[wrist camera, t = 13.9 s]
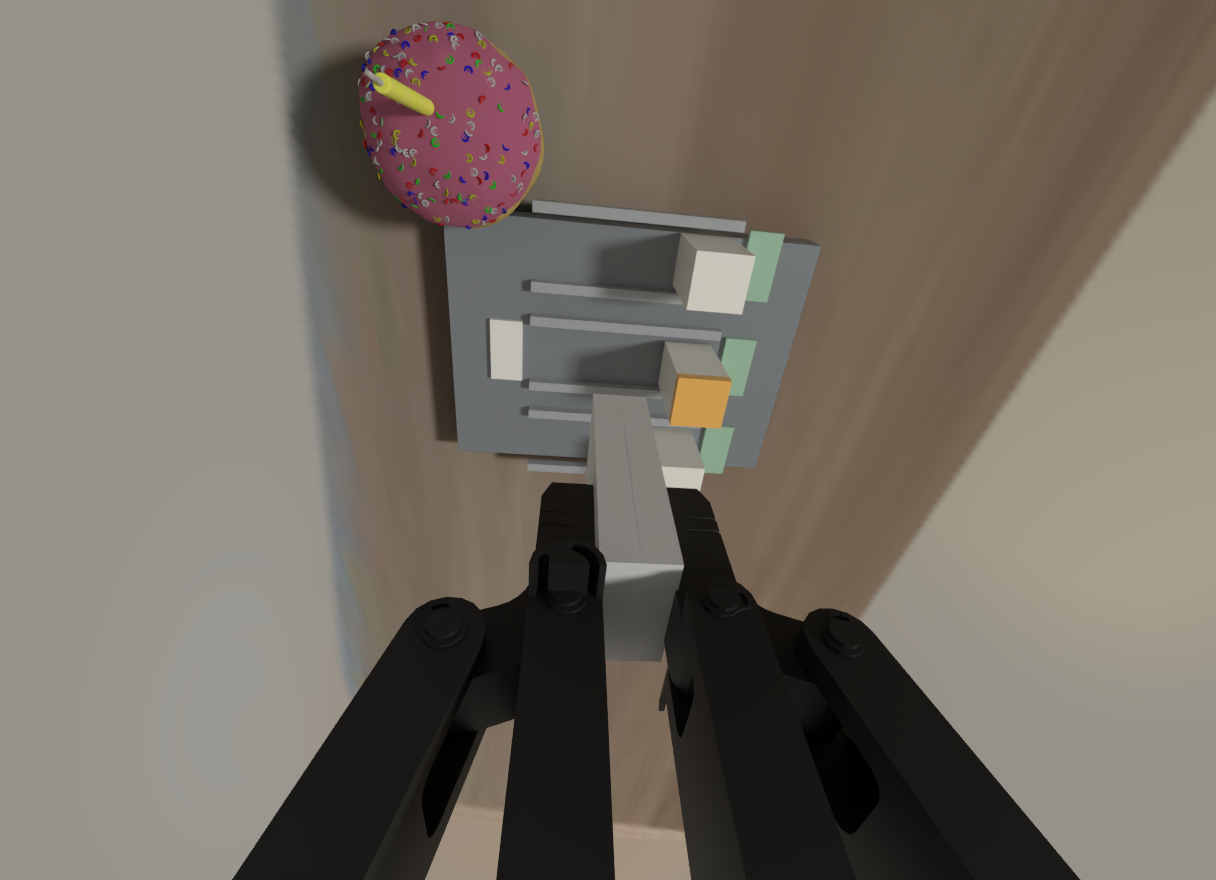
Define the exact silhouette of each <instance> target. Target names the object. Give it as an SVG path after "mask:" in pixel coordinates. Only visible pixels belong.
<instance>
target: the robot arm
mask: <svg viewBox="0 0 1216 880" xmlns="http://www.w3.org/2000/svg"><path fill="white" fill-rule="evenodd" d="M664 646H665V651H666V657H667V664H668V668H667V672H666V676H665V680H664V684H663V688H662V691H661V695H660V699H659V711H664V709H665V706H666V703H667V710H668V717H669V724H670V731H671V738H672V746H673V753H674V760H675V767H676V774H677V781H678V788H679V795H680V802H681V809H682V817H683V824H684V831H685V838H686V845H687V852H688V859H689V866H690V873H691V880H1080V879H1079V878H1078V877H1077V875H1076V874H1075V873H1074V872H1073V871H1072V869H1071V868H1070V867H1069V866H1068V865H1067V863H1066V862H1065V861H1064V860H1063V859H1062V857H1061V856H1060V855H1059V854H1058V853H1057V851H1056V850H1055V849H1054V848H1053V847H1052V845H1051V844H1050V843H1049V842H1048V841H1047V839H1046V838H1045V837H1044V836H1043V835H1042V833H1041V832H1040V831H1039V830H1038V829H1037V827H1036V826H1035V825H1034V824H1033V823H1032V822H1031V820H1030V819H1029V818H1028V817H1027V816H1026V814H1025V813H1024V812H1023V811H1022V810H1021V808H1020V807H1019V806H1018V805H1017V804H1016V802H1015V801H1014V800H1013V799H1012V798H1011V796H1010V795H1009V794H1008V793H1007V792H1006V790H1004V788H1003V787H1002V786H1001V784H1000V783H999V782H998V781H997V780H996V778H995V777H994V776H993V775H992V774H991V773H990V771H989V770H988V769H987V768H986V767H985V765H984V764H983V763H982V762H981V761H980V759H979V758H978V757H977V756H976V755H975V753H974V752H973V751H972V750H971V749H970V747H969V746H968V745H967V744H966V743H965V742H964V740H963V739H962V738H961V737H960V735H959V734H958V733H957V732H956V731H955V730H954V729H953V727H952V726H951V725H950V724H949V722H948V721H947V720H946V719H945V718H944V716H943V715H942V714H941V713H940V712H939V710H938V709H937V708H936V707H935V706H934V704H933V703H932V702H931V701H930V700H929V698H928V697H927V696H926V695H925V694H924V693H923V691H922V690H921V689H920V688H919V686H918V685H917V684H916V683H915V682H914V681H913V679H912V678H911V677H910V676H909V675H908V673H907V672H906V671H905V670H904V669H903V667H902V666H901V665H900V664H899V663H898V661H897V660H896V659H895V658H894V657H893V655H892V654H891V653H890V652H889V651H888V650H887V648H886V647H885V646H884V645H883V644H882V642H881V641H880V640H879V639H878V637H877V636H876V635H875V634H874V633H873V632H872V631H871V630H870V629H869V628H868V627H867V626H866V625H865V624H864V623H863V622H862V621H860V620H858V619H857V618H855V617H853V616H851V615H850V614H848V613H846V612H842V611H839V610H836V609H817V610H815V611H813V612H810V613H809V614H808V616H807V617H806V619H805V620H804V622H803V621H799V620H796V619H793V618H789V617H786V616H783V615H780V614H776V613H774V612H771V611H769V610H766V609H764V608H762V607H760V606H759V605H757V603H756V601H755V599H754V598H753V596H752V594H751V593H750V592H749V591H748V590H747V589H746V588H744V587H743V586H742V585H741V584H739V583H737V581H736V579H735V576H734V573H733V570H732V567H731V564H730V561H729V558H728V555H727V552H726V549H725V546H724V543H723V540H722V537H721V534H719V528H718V525H717V522H716V521H715V516H714V513H713V510H712V507H711V504H710V502H709V501H708V500H707V499H706V498H705V497H704V496H703V495H702V494H701V493H700V491H699V490H698V489H690V488H672V487H666V484H665V480H664V475H663V471H662V467H661V462H660V458H659V453H658V449H657V445H656V440H655V436H654V432H653V427H652V423H651V418H650V414H649V410H648V405H647V401H646V397H635V396H621V395H606V394H593V405H592V415H591V426H590V437H589V448H588V459H587V470H586V484H572V483H554V482H552V483H551V484H550V486H549V487H548V488H547V489H546V491H545V492H544V493H543V494H542V498H541V507H540V515H539V525H538V533H537V542H536V550H535V551H534V552H533V554H532V557H531V559H530V562H529V585H528V587H527V588H526V590H525V591H523V592H522V593H521V594H520V595H519V596H518V597H516V598H515V599H513V600H511V601H509V602H507V603H504V604H501V605H498V606H494V607H490V608H486V609H482V610H479V609H478V607H477V606H476V605H475V604H474V603H472V602H469V601H467V600H465V599H463V598H454V597H444V598H440V599H435V600H431V601H429V602H427V603H425V604H424V605H422V606H420V607H418V608H416V609H415V611H414V612H413V613H412V614H411V615H410V616H409V617H408V618H407V619H406V620H405V622H404V623H403V625H402V626H401V628H400V629H399V631H398V632H397V634H396V635H395V637H394V638H393V640H392V641H391V643H390V644H389V646H388V647H387V649H386V650H385V652H384V653H383V655H382V656H381V658H380V659H379V661H378V662H377V664H376V665H375V667H374V668H373V670H372V671H371V673H370V674H369V676H368V677H367V679H366V680H365V682H364V683H363V685H362V686H361V688H360V689H359V691H358V692H357V694H356V695H355V697H354V698H353V700H352V701H351V703H350V704H349V706H348V707H347V709H346V710H345V712H344V713H343V714H342V716H341V717H340V719H339V721H338V722H337V724H336V725H335V726H334V728H333V729H332V731H331V732H330V734H329V736H328V737H327V739H326V740H325V742H324V743H323V744H322V746H321V748H320V749H319V750H318V752H317V753H316V755H315V756H314V758H313V759H312V761H311V763H310V764H309V765H308V767H307V769H306V770H305V771H304V773H303V775H302V776H301V777H300V779H299V780H298V782H297V784H296V785H295V786H294V788H293V790H292V791H291V793H290V794H289V796H288V797H287V798H286V800H285V801H284V803H283V804H282V806H281V807H280V809H279V810H278V812H277V813H276V815H275V816H274V818H273V819H272V821H271V822H270V824H269V825H268V827H267V828H266V830H265V831H264V833H263V834H262V836H261V837H260V839H259V840H258V842H257V843H256V845H255V846H254V848H253V849H252V851H251V852H250V854H249V855H248V857H247V858H246V860H245V861H244V863H243V864H242V866H241V867H240V869H239V870H238V872H237V873H236V875H235V876H234V878H233V879H232V880H425V878H426V876H427V873H428V871H429V868H430V866H431V863H432V861H433V858H434V856H435V853H436V851H437V848H438V846H439V843H440V841H441V839H442V836H443V834H444V831H445V829H446V826H447V824H448V821H449V819H450V817H451V814H452V812H453V809H454V807H455V804H456V802H457V799H458V797H459V794H460V792H461V790H462V787H463V785H464V782H465V780H466V777H467V775H468V772H469V770H470V767H471V765H472V762H473V760H474V758H475V755H476V753H477V750H478V748H479V745H480V743H481V740H482V738H483V735H484V733H485V731H486V728H488V727H491V726H494V725H497V724H500V723H503V722H506V721H509V720H512V719H514V728H513V737H512V746H511V754H510V763H509V772H508V781H507V790H506V799H505V807H504V816H503V825H502V834H501V843H500V852H499V860H498V869H497V878H496V880H615V870H614V847H613V824H612V801H611V778H610V755H609V732H608V710H607V687H606V664H605V660H617V661H657V662H661V659H662V655H663V651H664Z"/></svg>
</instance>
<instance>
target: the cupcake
mask: <svg viewBox="0 0 1216 880" xmlns="http://www.w3.org/2000/svg"><path fill="white" fill-rule="evenodd" d="M393 31H394V32H393ZM367 54H368V56H369V57H368V56H367ZM369 54H370V55H369ZM365 59H367V61H366V64H365V63H364V64H363V65H362V71H363V72H362V75H361V78H360V79H359V80H358V86H359V100H360V111H361V120H360V125H361V127H362V128H363V132H364V138H365V140H364V142H363V145H364V148H366V149H367V152H368V154H369V156H370V157H371V159H372V163H373V164H374V165H375V167H376V169H377V171H378V178H379V180H381V179H382V180H383V182H384V184H385V186H386V187H387V189H388V190H389V191H390V192H391V193H392V194H393V195H394V196H395V198H396V200H397V201H399V202H401V205H402V206H403V207H404V208H409V209H411V210H412V211H414V212H415V213H417V214H418V215H420V216H421V217H423V218H424V219H426V220H428V221H430V222H432V223H436V224H438V225H439V226H443V225H448V226H453V227H461V228H466V229H476V228H484V227H487V226H490V225H493V224H495V223H498V222H500V221H502V220H503V219H505V218H506V217H508V216H509V215H510V214H511V213H512V212H513V211H514V210H515V209H516V208H517V207H518V205H519V204H520V203H521V201H522V200H523V198H524V197H525V196H526V194H527V193H528V191H529V190H530V188H531V187H532V185H533V184H534V183H535V181H536V180H537V178H538V176H539V173H540V170H541V167H542V163H543V158H544V139H543V133H542V128H541V123H540V119H539V114H538V110H537V106H536V102H535V98H534V94H533V90H532V87H531V84H530V82H529V80H528V78H527V76H526V75H525V74H524V72H523V71H522V70H521V69H520V68H519V67H518V66H517V65H516V64H515V63H514V62H513V61H512V60H511V59H510V58H509V57H508V56H507V55H506V54H505V53H504V52H503V51H501V50H500V49H499V48H498V47H496V46H495V45H494V44H493V43H491V42H490V41H489V40H487V39H486V38H485V37H484V36H483V35H482V34H481V33H480V32H478V31H476V30H474V29H471V28H469V27H466V26H463V25H459V24H454V23H451V22H445V21H429V22H419V24H413V25H412V26H408V27H406V28H404V29H401V30H399V31H396V30H395V29H392V30H391V33H390V35H389V36H388V37H386V38H383V40H382V41H381V42H380V43H378V45H377V46H376V47H375V48H374V49H373V50H372V52H370V51H368V52H366V54H365ZM361 122H362V123H361ZM365 144H366V146H365ZM403 204H404V205H403Z"/></svg>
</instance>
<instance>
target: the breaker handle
mask: <svg viewBox="0 0 1216 880" xmlns="http://www.w3.org/2000/svg"><path fill="white" fill-rule="evenodd" d="M658 385H659V389H660V392H661V396H662V399H663V403H664V406H665V410H666V413H667V416H668V420H669V423H670V425H673V426H689V427H704V428H720V429H721V426H722V421H723V417H724V413H725V409H726V405H727V401H728V397H729V393H730V389H731V385H732V380H731V379H730V377H729V375H728V374H727V372H726V370H725V368H724V367H723V365H722V363H721V362H720V360H719V358H718V356H717V355H716V353H715V351H714V349H713V348H712V346H711V345H708V344H695V343H683V342H670V341H665V344H664V350H663V356H662V362H661V368H660V375H659V381H658Z"/></svg>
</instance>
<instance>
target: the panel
mask: <svg viewBox="0 0 1216 880" xmlns="http://www.w3.org/2000/svg"><path fill="white" fill-rule="evenodd" d="M532 212H538V213H531V212H521V211H513V212H512V213H511V214H510V215H509V216H508V217H506V218H505V219H503V220H502V221H500V222H498V223H495V224H493V225H490V226H487V227H484V228H476V229H466V228H461V227H453V226H448V225H444V239H445V254H446V270H447V285H448V300H449V315H450V331H451V346H452V361H453V376H454V392H455V407H456V422H457V437H458V450H459V451H476V452H493V453H510V454H527V455H544V456H562V457H579V458H588V448H589V437H590V426H591V415H592V405H593V394H606V395H621V396H635V397H646V401H647V405H648V410H649V414H650V418H651V423H652V427H653V432H654V436H655V440H656V445H657V449H658V453H659V458H660V462H661V467H662V471H663V475H664V480H665V484H666V487H672V488H690V489H698V490H699V491H700V488H701V484H702V480H703V476H704V473H720V474H722V473H723V469H724V466H733V467H750V468H755V467H756V463H757V460H758V457H759V453H760V450H761V447H762V443H763V440H764V437H765V433H766V430H767V427H768V423H769V420H770V417H771V413H772V410H773V407H774V403H775V400H776V397H777V393H778V390H779V387H780V383H781V380H782V377H783V373H784V370H785V367H786V363H787V360H788V357H789V353H790V350H791V347H792V343H793V340H794V337H795V333H796V330H797V327H798V323H799V320H800V317H801V313H802V310H803V307H804V303H805V300H806V297H807V293H808V290H809V287H810V283H811V280H812V277H813V273H814V270H815V266H816V263H817V260H818V256H819V253H820V250H821V246H820V245H818V244H816V243H814V242H812V241H810V240H805V239H795V238H785V237H784V236H785V234H784V233H775V232H765V231H755V230H750V232H749V234H744V230H745V226H746V221H745V220H739V219H729V218H719V217H710V216H700V215H690V214H680V213H670V212H660V211H650V210H640V209H630V208H620V207H610V206H601V205H591V204H581V203H571V202H561V201H551V200H541V199H533V200H532ZM541 213H548V214H541ZM552 214H558V215H552ZM562 215H568V216H562ZM572 216H578V217H572ZM582 217H588V218H582ZM592 218H598V219H592ZM602 219H608V220H602ZM612 220H619V221H612ZM623 221H629V222H623ZM633 222H639V223H633ZM643 223H649V224H643ZM653 224H659V225H653ZM663 225H669V226H663ZM673 226H679V227H673ZM683 227H690V228H683ZM694 228H700V229H694ZM704 229H710V230H704ZM714 230H720V231H714ZM724 231H730V232H724ZM734 232H740V233H734ZM665 341H670V342H683V343H695V344H708V345H711V346H712V348H713V349H714V351H715V353H716V355H717V356H718V358H719V360H720V362H721V363H722V365H723V367H724V368H725V370H726V372H727V374H728V375H729V377H730V379H731V380H732V385H731V389H730V393H729V397H728V401H727V405H726V409H725V413H724V417H723V421H722V426H721V429H720V428H704V427H689V426H673V425H670V423H669V420H668V416H667V413H666V410H665V406H664V403H663V399H662V396H661V392H660V389H659V385H658V381H659V375H660V368H661V362H662V356H663V350H664V344H665ZM586 470H587V462H569V461H552V460H535V459H528V469H527V471H544V472H562V473H580V474H586Z"/></svg>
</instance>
